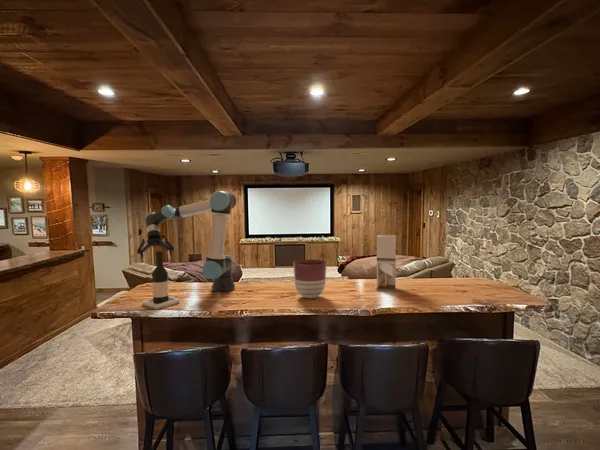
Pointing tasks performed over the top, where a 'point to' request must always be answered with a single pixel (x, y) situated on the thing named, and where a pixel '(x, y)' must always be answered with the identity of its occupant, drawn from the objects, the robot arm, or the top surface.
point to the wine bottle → (160, 281)
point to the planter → (310, 277)
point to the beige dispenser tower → (386, 262)
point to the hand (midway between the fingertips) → (157, 261)
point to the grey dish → (157, 306)
